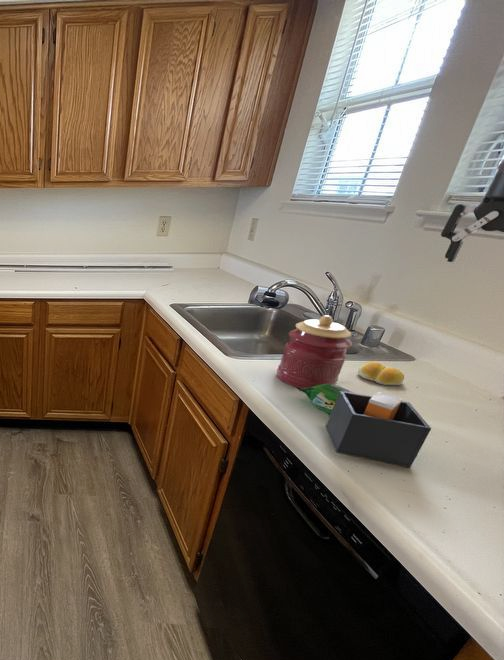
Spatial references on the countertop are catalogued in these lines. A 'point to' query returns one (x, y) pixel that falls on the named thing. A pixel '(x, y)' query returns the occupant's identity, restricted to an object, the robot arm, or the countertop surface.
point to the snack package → (324, 395)
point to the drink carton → (383, 406)
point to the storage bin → (376, 431)
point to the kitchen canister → (314, 353)
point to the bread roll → (381, 374)
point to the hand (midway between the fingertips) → (480, 265)
